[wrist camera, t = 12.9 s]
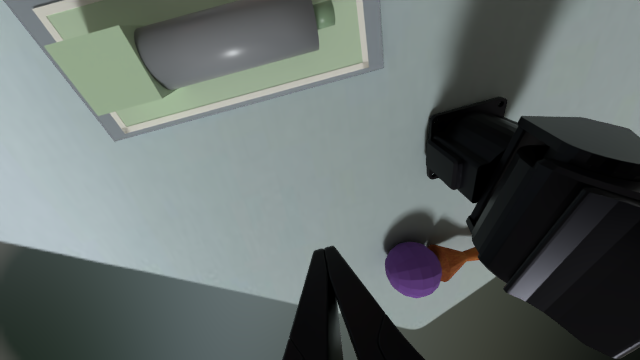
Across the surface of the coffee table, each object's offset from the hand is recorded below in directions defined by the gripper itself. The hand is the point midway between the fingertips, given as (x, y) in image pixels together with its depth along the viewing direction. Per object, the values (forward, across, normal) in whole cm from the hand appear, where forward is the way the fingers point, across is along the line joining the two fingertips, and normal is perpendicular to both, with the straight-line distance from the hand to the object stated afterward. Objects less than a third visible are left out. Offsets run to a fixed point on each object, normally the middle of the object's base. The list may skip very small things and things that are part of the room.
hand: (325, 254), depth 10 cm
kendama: (+12, -15, +19) cm, 27 cm away
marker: (+11, +3, -8) cm, 14 cm away
